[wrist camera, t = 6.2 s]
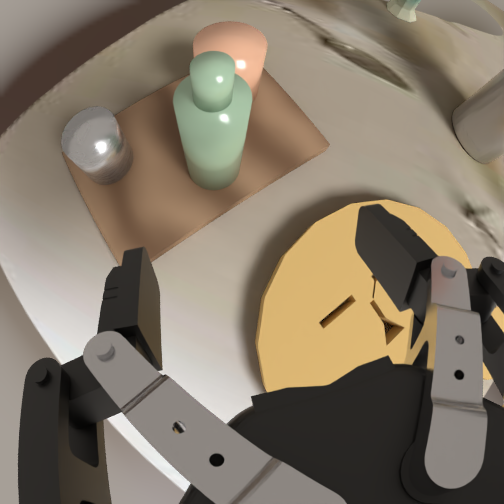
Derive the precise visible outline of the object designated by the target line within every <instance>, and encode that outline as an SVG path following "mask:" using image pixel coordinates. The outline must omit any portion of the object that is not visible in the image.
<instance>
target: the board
mask: <svg viewBox="0 0 504 504" xmlns="http://www.w3.org/2000/svg"><path fill="white" fill-rule="evenodd" d="M189 75H190V74H188V75H186V76H184V77H182V78H180V79H178V80H176V81H174V82H172V83H171V84H169V85H167V86H165V87H163V88H161V89H159V90H157V91H156V92H154V93H152V94H150V95H148V96H147V97H145V98H143V99H141V100H140V101H138V102H136V103H135V104H133V105H131V106H129V107H128V108H126V109H125V110H123V111H121V112H120V113H118V114H116V115H115V116H114V117H115V119H116V121H117V122H118V124H119V126H120V128H121V130H122V132H123V133H124V135H125V137H126V139H127V141H128V143H129V144H130V146H131V148H132V151H133V162H132V166H131V168H130V170H129V171H128V173H127V174H126V175H125V176H124V177H123V178H122V179H121V180H119V181H117V182H115V183H113V184H109V185H100V184H97V183H95V182H94V181H92V180H91V179H90V178H89V177H88V176H87V175H86V174H85V173H84V172H83V171H82V170H81V169H80V168H79V167H78V166H77V165H76V164H75V163H74V162H73V161H72V160H71V159H70V158H69V157H68V156H67V155H66V154H65V153H64V151H63V152H62V154H63V157H64V159H65V161H66V163H67V165H68V168H69V170H70V172H71V174H72V176H73V178H74V181H75V183H76V185H77V187H78V189H79V191H80V193H81V195H82V197H83V199H84V201H85V203H86V205H87V207H88V209H89V211H90V213H91V215H92V217H93V218H94V220H95V222H96V224H97V226H98V228H99V230H100V232H101V233H102V235H103V237H104V239H105V241H106V243H107V244H108V246H109V248H110V250H111V251H112V253H113V255H114V257H115V258H116V260H117V262H118V263H119V265H120V266H122V259H123V253H124V251H125V250H130V249H134V248H139V247H145V248H146V250H147V252H148V255H149V258H150V261H151V262H153V261H154V260H155V259H157V258H158V257H160V256H161V255H163V254H164V253H166V252H167V251H169V250H170V249H172V248H173V247H174V246H176V245H177V244H179V243H180V242H182V241H183V240H185V239H186V238H188V237H189V236H191V235H192V234H194V233H195V232H197V231H198V230H200V229H201V228H203V227H204V226H206V225H207V224H209V223H210V222H212V221H213V220H215V219H216V218H218V217H220V216H221V215H223V214H224V213H226V212H227V211H229V210H230V209H232V208H233V207H235V206H237V205H238V204H240V203H241V202H243V201H244V200H246V199H248V198H249V197H251V196H252V195H254V194H255V193H257V192H259V191H260V190H262V189H263V188H265V187H267V186H268V185H270V184H271V183H273V182H275V181H276V180H278V179H279V178H281V177H283V176H284V175H286V174H288V173H289V172H291V171H293V170H294V169H296V168H297V167H299V166H301V165H302V164H304V163H306V162H307V161H309V160H311V159H312V158H314V157H316V156H317V155H319V154H321V153H323V152H324V151H326V149H327V148H328V147H329V145H330V144H329V143H328V141H327V140H326V139H325V138H324V136H323V135H322V134H321V133H320V131H319V130H318V129H317V128H316V127H315V125H314V124H313V123H312V122H311V121H310V119H309V118H308V117H307V116H306V115H305V113H304V112H303V111H302V110H301V109H300V108H299V106H298V105H297V104H296V103H295V102H294V101H293V100H292V98H291V97H290V96H289V95H288V94H287V93H286V92H285V91H284V90H283V88H282V87H281V86H280V85H279V84H278V83H277V82H276V81H275V80H274V79H273V78H272V77H271V75H270V74H269V73H268V72H267V71H266V70H265V69H264V68H263V70H262V74H261V79H260V84H259V89H258V93H257V96H256V98H255V100H254V101H253V102H252V105H251V110H250V116H249V121H248V127H247V132H246V138H245V143H244V149H243V155H242V160H241V166H240V171H239V174H238V177H237V178H236V180H235V181H234V182H233V183H232V184H231V185H229V186H228V187H226V188H223V189H220V190H207V189H204V188H201V187H200V186H198V185H197V184H195V183H194V182H193V180H192V179H191V177H190V175H189V172H188V167H187V163H186V159H185V155H184V150H183V146H182V141H181V137H180V133H179V128H178V123H177V119H176V114H175V110H174V105H173V96H174V93H175V90H176V88H177V87H178V85H179V84H180V83H181V81H182V80H184V79H185V78H186V77H187V76H189Z"/></svg>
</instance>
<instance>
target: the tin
mask: <svg viewBox="0 0 504 504" xmlns="http://www.w3.org/2000/svg"><path fill="white" fill-rule="evenodd" d="M61 145H62V149H63V151H64V153H65V154H66V155H67V156H68V157H69V158H70V159H71V160H72V161H73V162H74V163H75V164H76V165H77V166H78V167H79V168H80V169H81V170H82V171H83V172H84V173H85V174H86V175H87V176H88V177H89V178H90V179H91V180H92V181H94V182H95V183H97V184H100V185H109V184H113V183H115V182H117V181H119V180H121V179H122V178H123V177H124V176H125V175H126V174H127V173H128V171H129V170H130V168H131V166H132V162H133V151H132V148H131V146H130V144H129V143H128V141H127V139H126V137H125V135H124V133H123V132H122V130H121V128H120V126H119V124H118V122H117V121H116V119H115V117H114V115H113V114H112V112H111V111H110V110H108V109H106V108H104V107H99V106H96V107H90V108H86V109H84V110H82V111H80V112H79V113H77V114H76V115H75V116H74V117H72V118H71V120H70V121H69V122H68V123H67V125H66V127H65V128H64V131H63V133H62V138H61Z"/></svg>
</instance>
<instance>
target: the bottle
mask: <svg viewBox="0 0 504 504" xmlns="http://www.w3.org/2000/svg"><path fill="white" fill-rule="evenodd" d="M173 105H174V110H175V114H176V119H177V123H178V128H179V133H180V137H181V141H182V146H183V150H184V155H185V159H186V163H187V167H188V172H189V175H190V177H191V179H192V180H193V182H194V183H195V184H197V185H198V186H200V187H201V188H204V189H207V190H220V189H223V188H226V187H228V186H229V185H231V184H232V183H233V182H234V181H235V180H236V178H237V177H238V174H239V171H240V166H241V160H242V155H243V149H244V143H245V138H246V132H247V127H248V121H249V116H250V110H251V105H252V92H251V89H250V87H249V85H248V84H247V82H246V81H245V80H244V79H243V78H242V77H240V76H239V75H237V74H235V62H234V60H233V58H232V57H231V56H229V55H228V54H226V53H224V52H220V51H207V52H203V53H201V54H199V55H197V56H196V57H195V58H194V59H193V60H192V61H191V63H190V75H189V76H187V77H186V78H185V79H184V80H182V81H181V83H180V84H179V85H178V87H177V88H176V90H175V93H174V96H173Z"/></svg>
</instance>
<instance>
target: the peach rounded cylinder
mask: <svg viewBox="0 0 504 504" xmlns="http://www.w3.org/2000/svg"><path fill="white" fill-rule="evenodd" d="M207 51H220V52H224V53H226V54H228V55H229V56H231V57H232V58H233V60H234V62H235V74H237V75H239V76H240V77H242V78H243V79H244V80H245V81H246V82H247V84H248V85H249V87H250V89H251V92H252V102H253V101H254V100H255V98H256V96H257V93H258V89H259V84H260V79H261V74H262V70H263V65H264V60H265V56H266V51H267V41H266V38H265V37H264V35H263V34H262V33H261V32H260V31H259V30H258V29H256V28H254V27H252V26H250V25H248V24H244V23H240V22H231V21H228V22H219V23H215V24H212V25H209V26H207V27H205V28H203V29H202V30H201V31H200V32H199V33H198V34H197V35H196V36H195V38H194V41H193V53H194V58H195V57H196V56H197V55H199V54H201V53H203V52H207Z"/></svg>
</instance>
